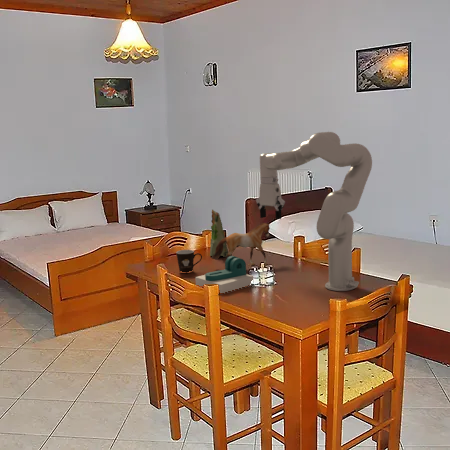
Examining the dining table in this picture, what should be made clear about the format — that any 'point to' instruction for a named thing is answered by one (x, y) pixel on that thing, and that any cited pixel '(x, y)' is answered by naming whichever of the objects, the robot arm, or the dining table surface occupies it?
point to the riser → (227, 282)
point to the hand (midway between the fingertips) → (270, 218)
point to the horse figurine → (244, 241)
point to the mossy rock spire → (217, 234)
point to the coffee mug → (186, 260)
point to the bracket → (228, 270)
